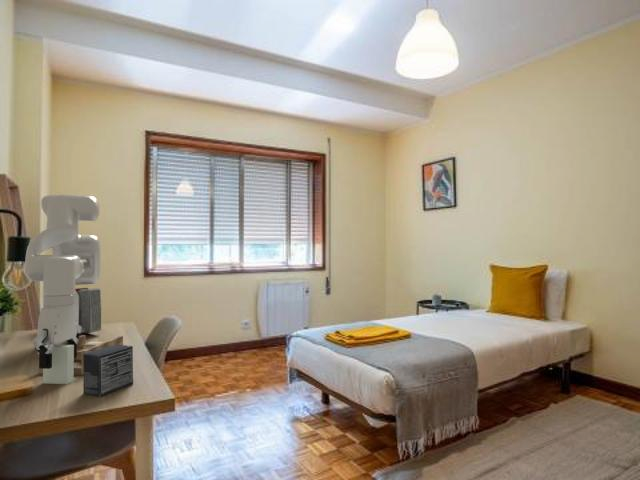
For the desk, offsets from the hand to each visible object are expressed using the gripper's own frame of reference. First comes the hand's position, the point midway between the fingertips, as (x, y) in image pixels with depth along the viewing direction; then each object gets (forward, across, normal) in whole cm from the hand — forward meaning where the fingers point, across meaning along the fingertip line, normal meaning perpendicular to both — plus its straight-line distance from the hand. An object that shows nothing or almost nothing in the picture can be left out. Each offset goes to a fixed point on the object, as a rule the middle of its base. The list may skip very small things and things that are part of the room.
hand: (58, 362), depth 112 cm
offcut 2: (+3, -22, -3) cm, 22 cm away
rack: (+5, -16, -3) cm, 17 cm away
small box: (+5, +4, +17) cm, 18 cm away
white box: (+5, 0, 0) cm, 5 cm away
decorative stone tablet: (+6, -61, -38) cm, 72 cm away
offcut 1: (+6, -22, -7) cm, 24 cm away
